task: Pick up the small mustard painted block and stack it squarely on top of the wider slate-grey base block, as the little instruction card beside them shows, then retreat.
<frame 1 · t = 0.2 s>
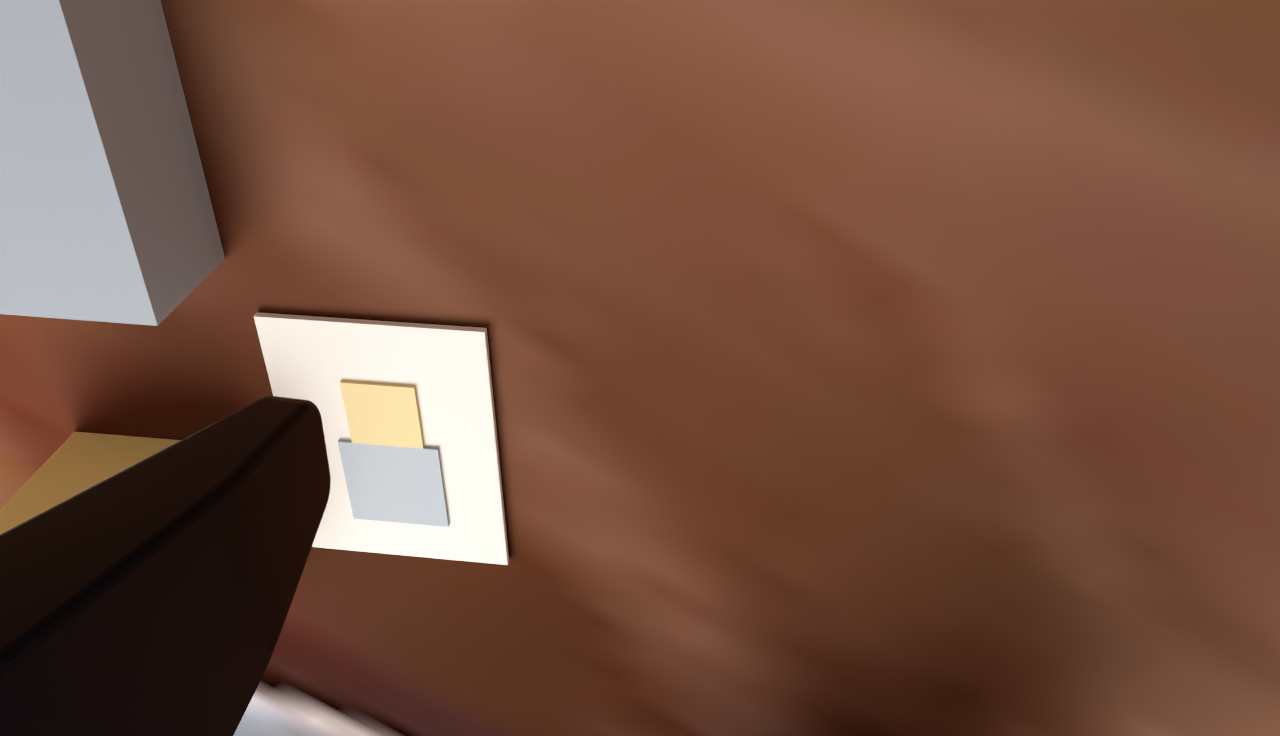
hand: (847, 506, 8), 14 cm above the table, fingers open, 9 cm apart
instruction card: (391, 444, 28), on the table
base block: (55, 110, 24), on the table
mustard block: (180, 502, 30), on the table
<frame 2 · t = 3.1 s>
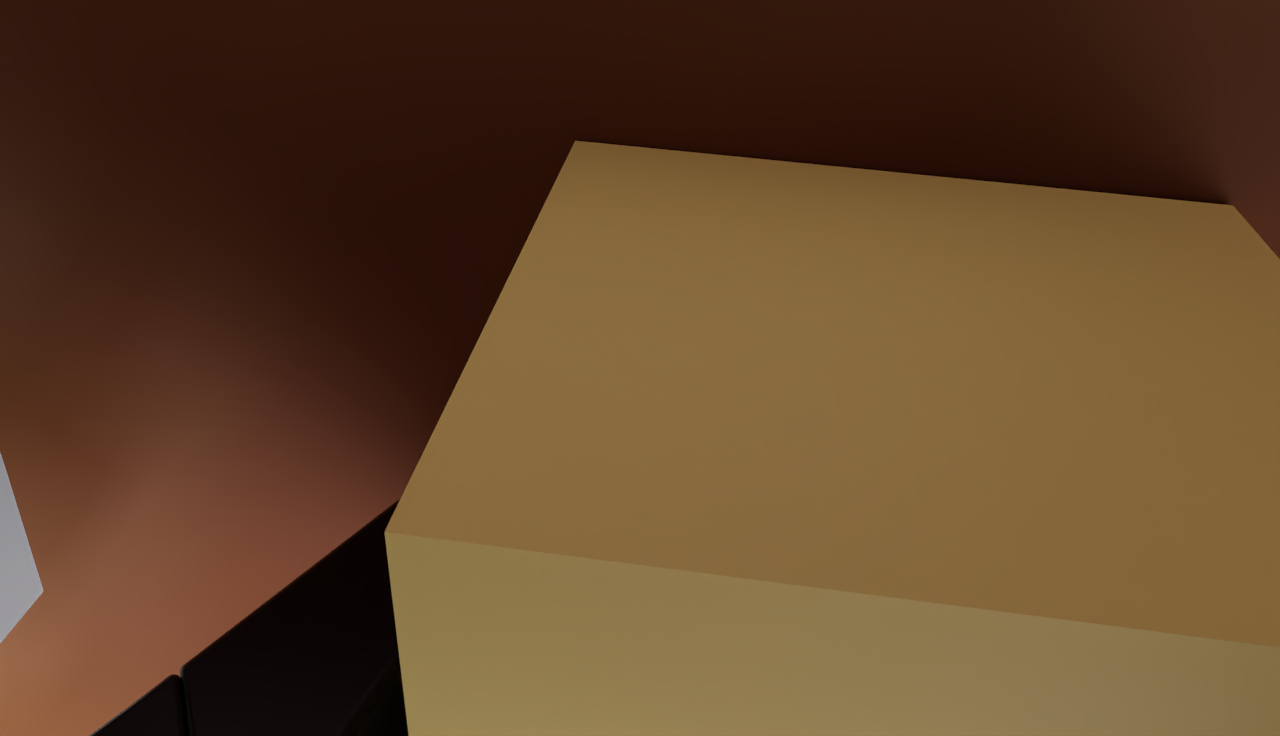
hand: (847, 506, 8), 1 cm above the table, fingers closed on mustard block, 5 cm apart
mustard block: (842, 430, 9), on the table, touching gripper
when the fingers open (6 cm above the table, at t = 6.3 s): mustard block drops 2 cm, resting on base block.
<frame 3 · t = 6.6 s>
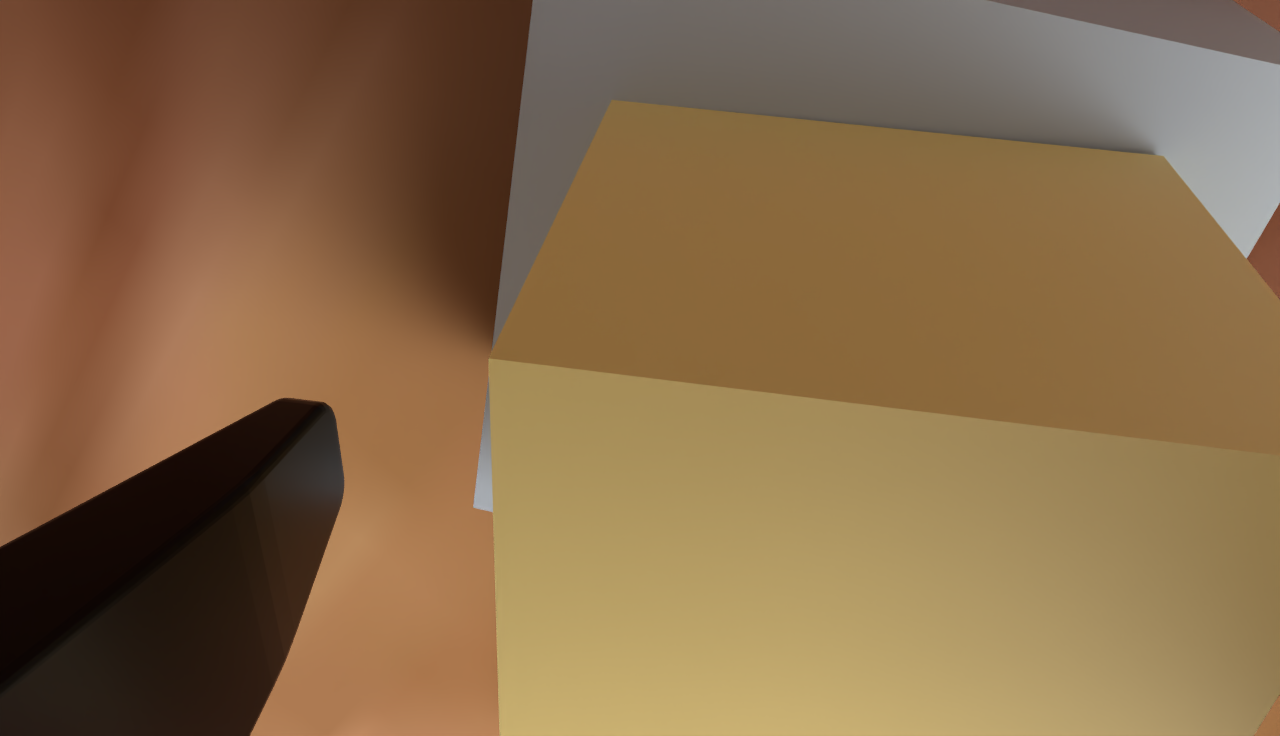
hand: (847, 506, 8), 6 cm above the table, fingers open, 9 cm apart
base block: (821, 197, 13), on the table, touching mustard block
mustard block: (836, 356, 11), point 3 cm above the table, touching base block
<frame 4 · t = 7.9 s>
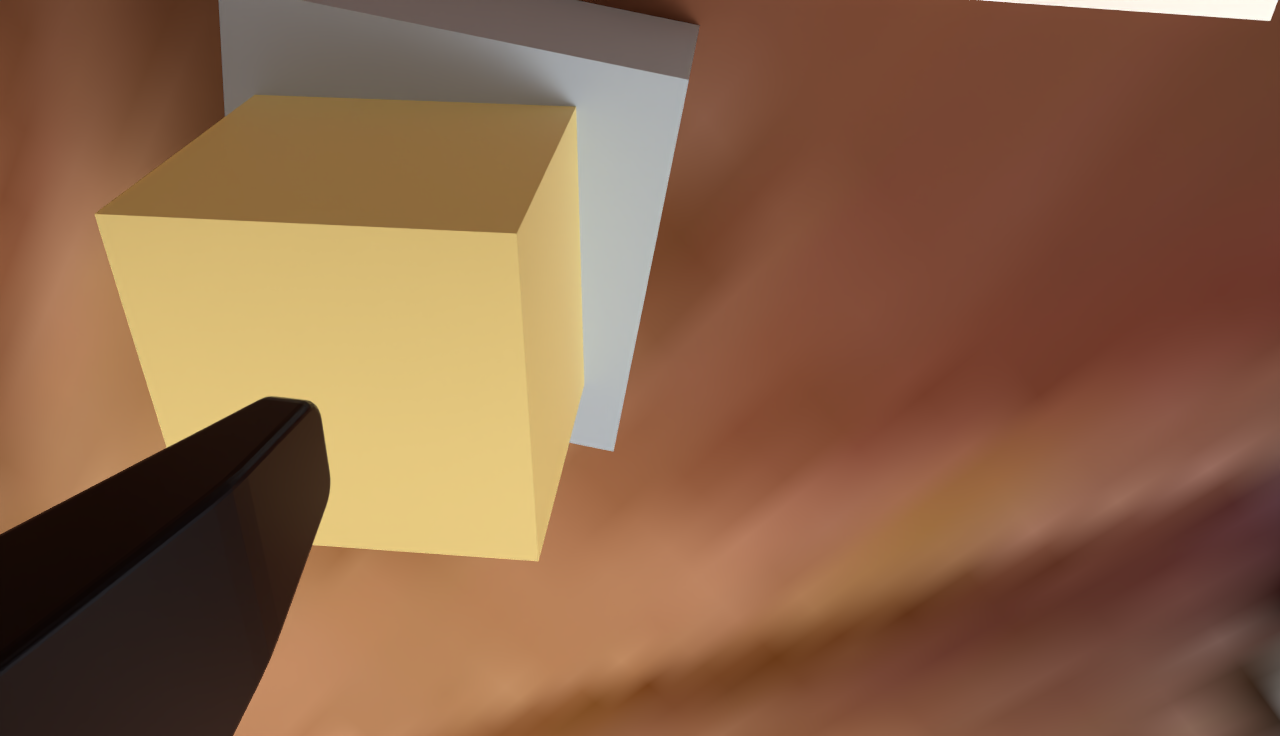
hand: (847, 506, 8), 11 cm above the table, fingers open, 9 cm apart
base block: (486, 166, 20), on the table, touching mustard block
mustard block: (430, 249, 17), point 3 cm above the table, touching base block
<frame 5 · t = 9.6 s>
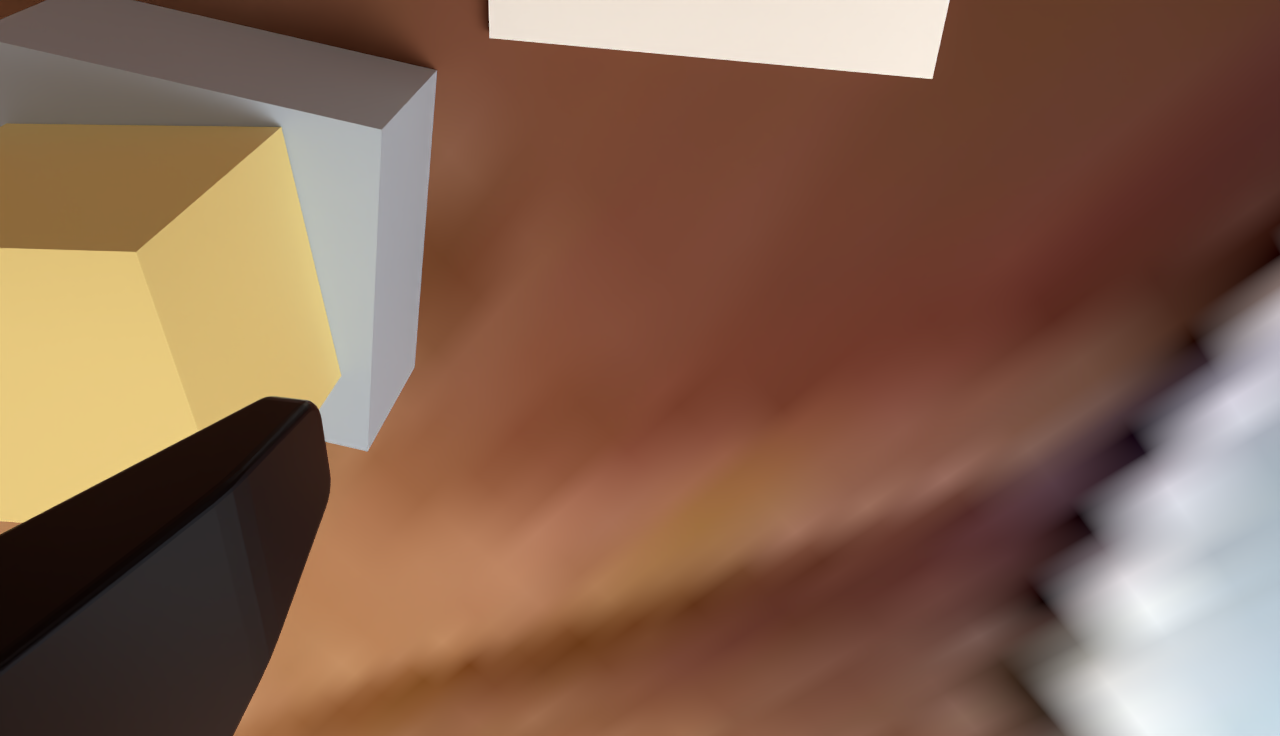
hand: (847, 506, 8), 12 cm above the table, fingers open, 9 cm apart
base block: (269, 187, 21), on the table, touching mustard block
mustard block: (183, 256, 18), point 3 cm above the table, touching base block
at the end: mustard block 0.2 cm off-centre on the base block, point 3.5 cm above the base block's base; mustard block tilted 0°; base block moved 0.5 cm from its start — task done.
